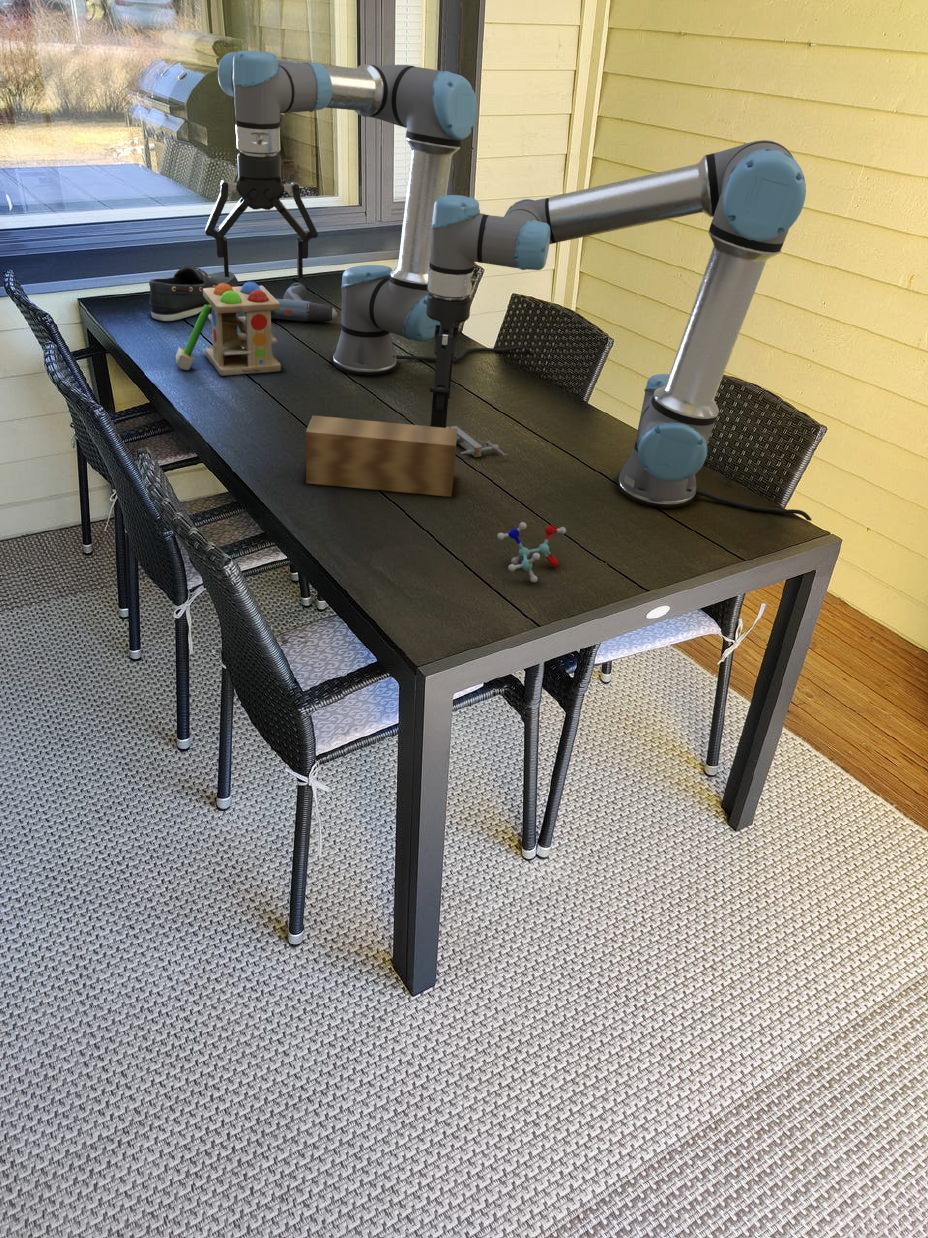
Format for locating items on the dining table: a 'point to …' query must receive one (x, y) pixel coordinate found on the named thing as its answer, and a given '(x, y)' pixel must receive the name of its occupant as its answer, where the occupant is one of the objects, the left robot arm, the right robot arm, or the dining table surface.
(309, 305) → the power drill
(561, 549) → the dining table surface
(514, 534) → the molecular model
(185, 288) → the boat shoe
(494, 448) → the clamp
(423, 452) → the box
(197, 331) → the pounding bench toy
